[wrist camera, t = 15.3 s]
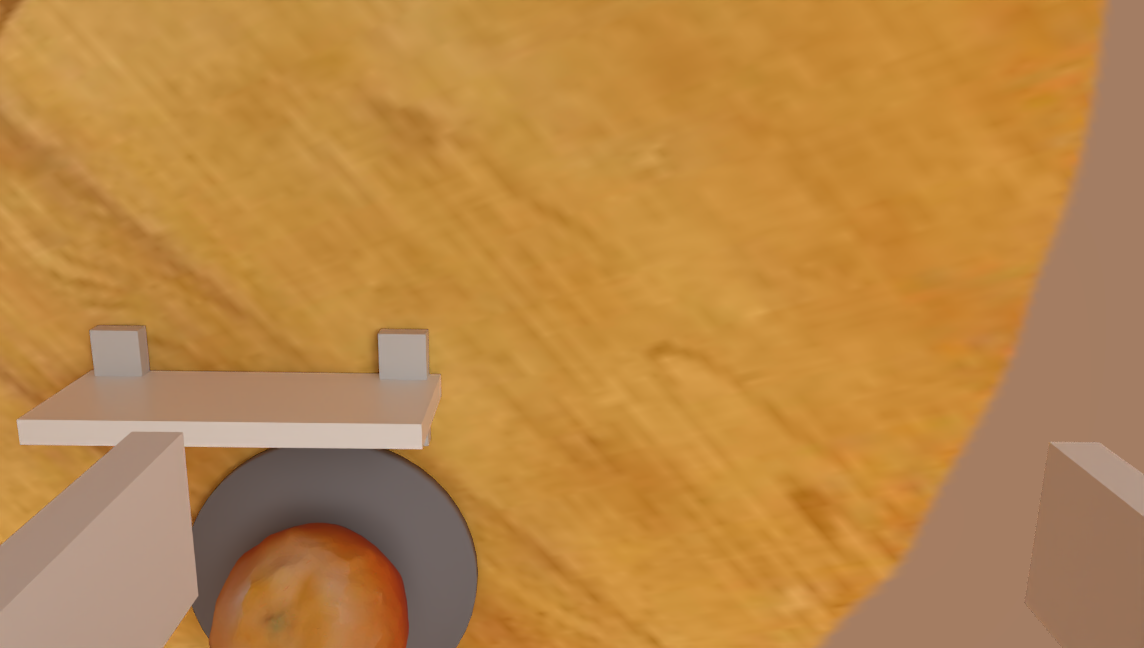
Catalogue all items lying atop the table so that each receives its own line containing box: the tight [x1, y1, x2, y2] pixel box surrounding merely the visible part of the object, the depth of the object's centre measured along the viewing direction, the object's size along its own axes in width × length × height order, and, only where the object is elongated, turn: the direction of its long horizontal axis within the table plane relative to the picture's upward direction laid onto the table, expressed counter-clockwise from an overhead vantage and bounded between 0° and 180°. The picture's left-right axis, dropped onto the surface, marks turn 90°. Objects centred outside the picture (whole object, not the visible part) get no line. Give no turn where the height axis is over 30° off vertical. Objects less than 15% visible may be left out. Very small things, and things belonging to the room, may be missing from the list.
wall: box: [17, 325, 441, 449], centre depth 39 cm, size 5×15×6 cm, turn 89°
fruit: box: [209, 523, 409, 648], centre depth 41 cm, size 8×8×8 cm
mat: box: [192, 448, 478, 648], centre depth 44 cm, size 13×13×1 cm
